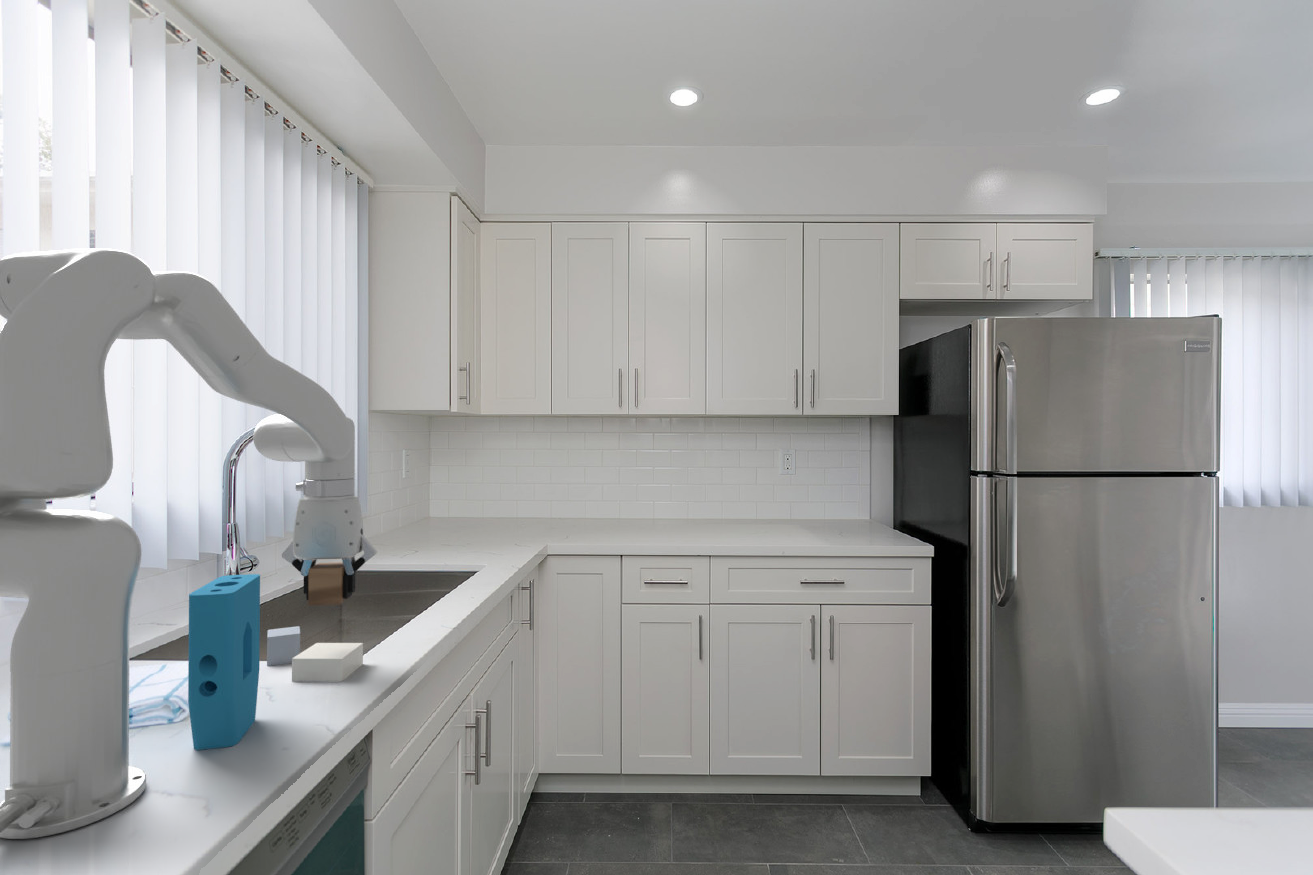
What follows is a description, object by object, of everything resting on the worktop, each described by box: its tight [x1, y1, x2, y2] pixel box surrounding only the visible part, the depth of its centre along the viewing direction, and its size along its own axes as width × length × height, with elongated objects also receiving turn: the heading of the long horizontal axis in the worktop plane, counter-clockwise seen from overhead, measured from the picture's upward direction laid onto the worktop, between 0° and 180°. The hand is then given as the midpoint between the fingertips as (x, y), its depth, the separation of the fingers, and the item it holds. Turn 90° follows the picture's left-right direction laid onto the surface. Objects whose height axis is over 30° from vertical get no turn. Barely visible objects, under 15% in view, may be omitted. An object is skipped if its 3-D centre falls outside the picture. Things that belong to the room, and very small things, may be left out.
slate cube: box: [266, 626, 301, 667], centre depth 116 cm, size 5×5×5 cm
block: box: [187, 573, 261, 751], centre depth 87 cm, size 12×5×20 cm, turn 16°
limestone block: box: [291, 642, 364, 683], centre depth 110 cm, size 8×8×4 cm
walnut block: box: [307, 561, 348, 606], centre depth 110 cm, size 5×5×6 cm
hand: (329, 596), depth 110 cm, fingers closed on walnut block, 5 cm apart
